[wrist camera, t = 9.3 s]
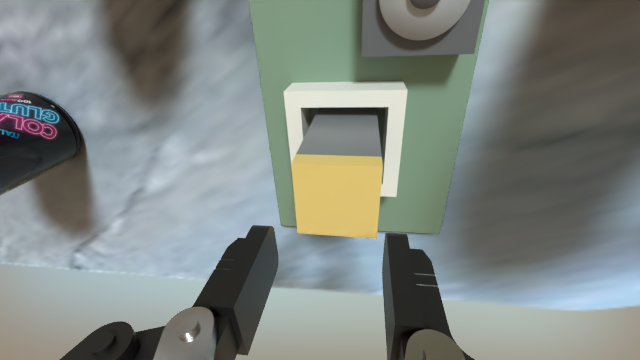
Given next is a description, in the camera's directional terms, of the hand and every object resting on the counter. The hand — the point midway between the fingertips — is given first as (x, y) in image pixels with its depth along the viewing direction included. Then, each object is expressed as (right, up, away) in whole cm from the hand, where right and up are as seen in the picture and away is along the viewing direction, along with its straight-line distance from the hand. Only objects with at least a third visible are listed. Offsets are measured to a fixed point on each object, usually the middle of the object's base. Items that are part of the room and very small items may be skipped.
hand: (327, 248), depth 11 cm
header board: (+3, +8, +10) cm, 13 cm away
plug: (+2, +6, +10) cm, 12 cm away
